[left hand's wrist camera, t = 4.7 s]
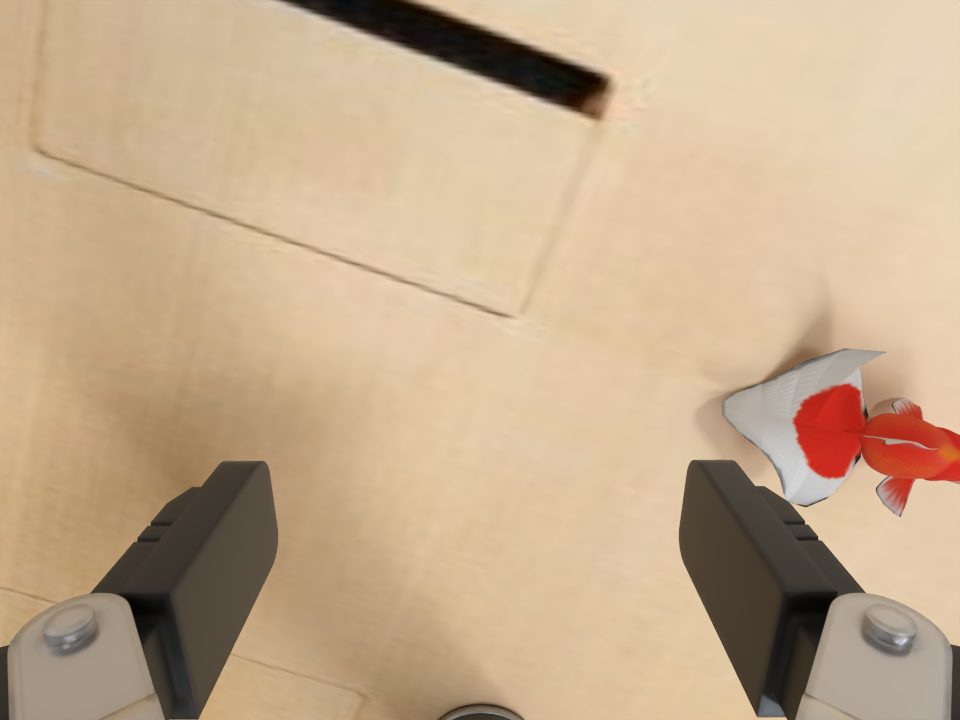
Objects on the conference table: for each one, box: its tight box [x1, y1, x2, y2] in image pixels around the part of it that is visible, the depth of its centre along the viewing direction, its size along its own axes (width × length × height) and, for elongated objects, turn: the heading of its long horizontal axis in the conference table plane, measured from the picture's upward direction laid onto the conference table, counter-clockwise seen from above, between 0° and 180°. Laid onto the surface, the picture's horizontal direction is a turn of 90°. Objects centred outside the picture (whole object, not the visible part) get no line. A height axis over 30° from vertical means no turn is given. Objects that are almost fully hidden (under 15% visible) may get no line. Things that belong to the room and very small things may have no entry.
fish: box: [722, 349, 960, 517], centre depth 39 cm, size 11×16×10 cm
